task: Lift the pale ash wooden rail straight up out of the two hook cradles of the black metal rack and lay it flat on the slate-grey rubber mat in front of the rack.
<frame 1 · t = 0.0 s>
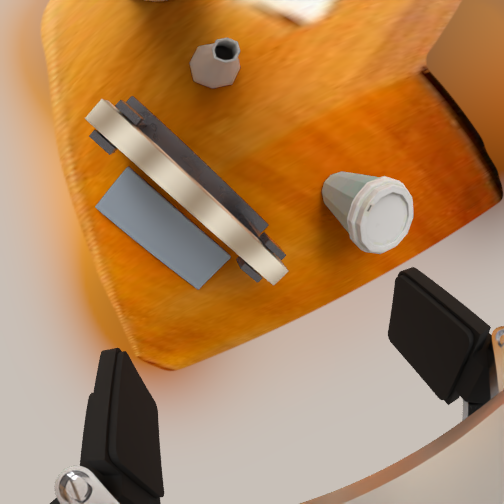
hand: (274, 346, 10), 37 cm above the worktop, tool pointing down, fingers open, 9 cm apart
disposable coffee cup: (336, 191, 50), on the worktop
flask: (214, 65, 37), on the worktop
hook rack: (188, 175, 43), on the worktop
rail: (192, 192, 33), point 11 cm above the worktop, touching hook rack
mat: (164, 230, 45), on the worktop
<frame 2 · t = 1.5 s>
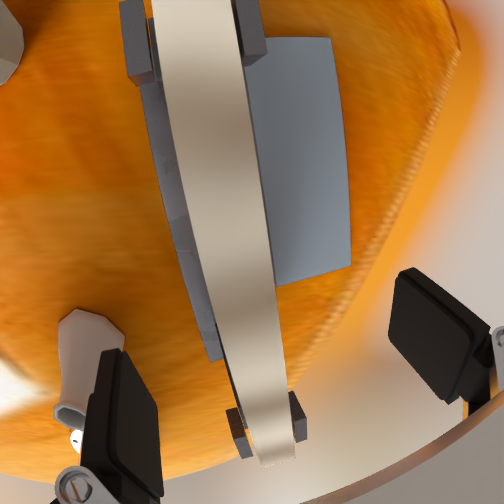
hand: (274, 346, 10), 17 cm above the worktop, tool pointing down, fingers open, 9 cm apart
disposable coffee cup: (0, 55, 14), on the worktop
flask: (90, 338, 26), on the worktop
hook rack: (206, 216, 25), on the worktop
rail: (232, 280, 15), point 11 cm above the worktop, touching hook rack
mat: (301, 160, 25), on the worktop
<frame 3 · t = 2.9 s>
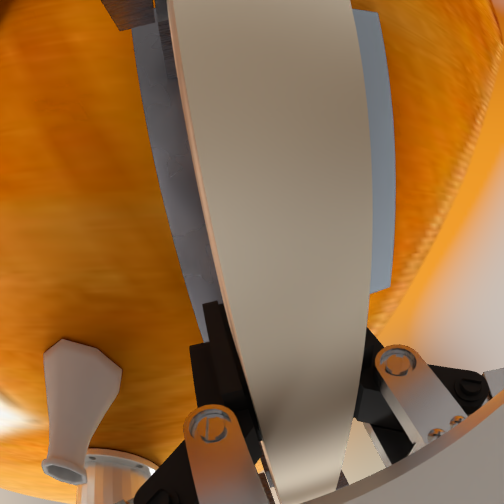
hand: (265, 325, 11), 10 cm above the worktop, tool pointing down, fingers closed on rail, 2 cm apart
flask: (82, 370, 21), on the worktop
hook rack: (222, 230, 19), on the worktop
rail: (276, 350, 9), point 11 cm above the worktop, touching gripper, hook rack
mat: (342, 161, 19), on the worktop
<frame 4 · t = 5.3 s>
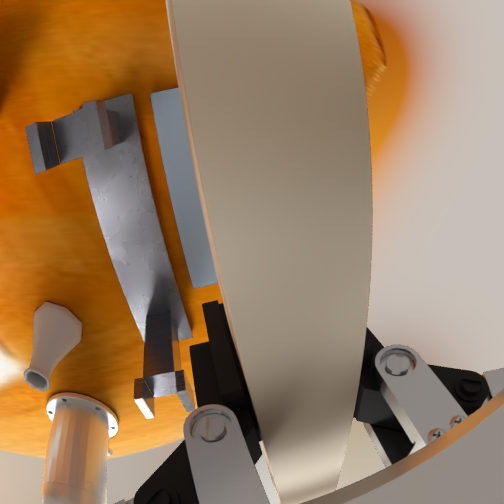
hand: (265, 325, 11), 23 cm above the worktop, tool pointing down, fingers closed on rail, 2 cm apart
flask: (58, 324, 32), on the worktop
hook rack: (134, 233, 31), on the worktop
rail: (276, 350, 9), point 24 cm above the worktop, touching gripper
mat: (207, 187, 31), on the worktop
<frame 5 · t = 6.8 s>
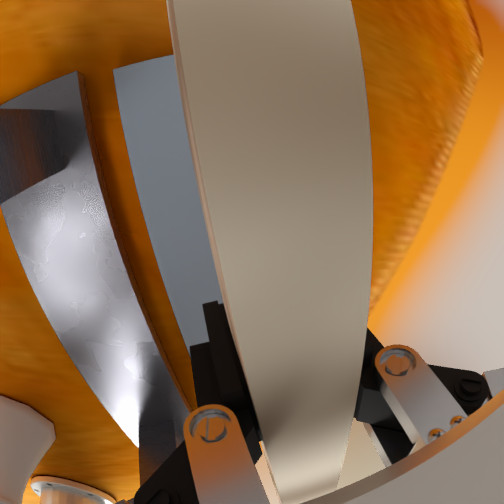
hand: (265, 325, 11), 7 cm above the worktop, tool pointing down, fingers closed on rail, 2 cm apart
flask: (23, 418, 19), on the worktop
hook rack: (104, 323, 17), on the worktop
rail: (276, 349, 9), point 9 cm above the worktop, touching gripper
mat: (226, 247, 17), on the worktop
when the fingers open (2 cm above the worktop, at t = 7.8 s): rail drops 2 cm, resting on mat.
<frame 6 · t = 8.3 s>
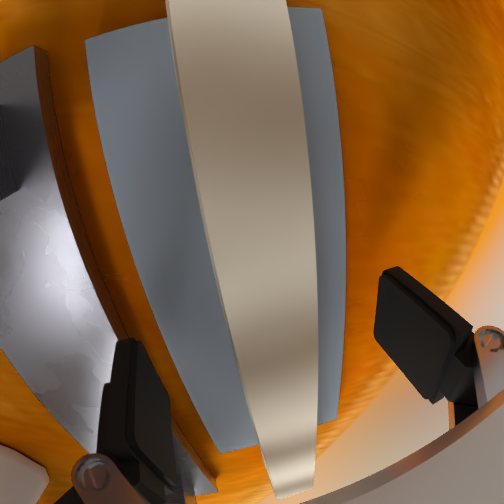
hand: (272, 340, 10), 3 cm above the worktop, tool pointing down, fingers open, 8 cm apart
flask: (13, 459, 15), on the worktop
hook rack: (92, 381, 13), on the worktop
rail: (256, 312, 12), point 1 cm above the worktop, touching mat
mat: (250, 293, 13), on the worktop
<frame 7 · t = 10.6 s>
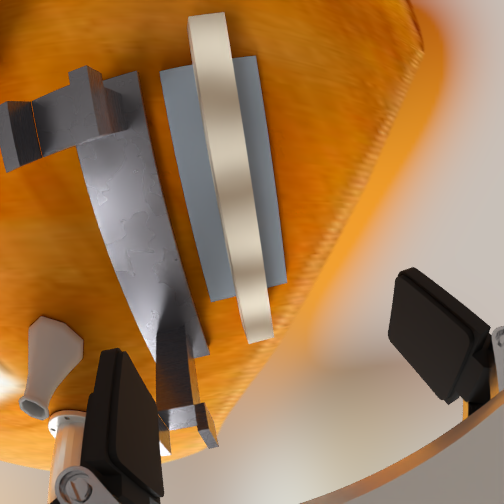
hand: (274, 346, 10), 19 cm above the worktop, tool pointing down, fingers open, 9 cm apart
flask: (56, 340, 28), on the worktop
hook rack: (140, 239, 26), on the worktop
rail: (230, 189, 25), point 1 cm above the worktop, touching mat
mat: (228, 183, 26), on the worktop
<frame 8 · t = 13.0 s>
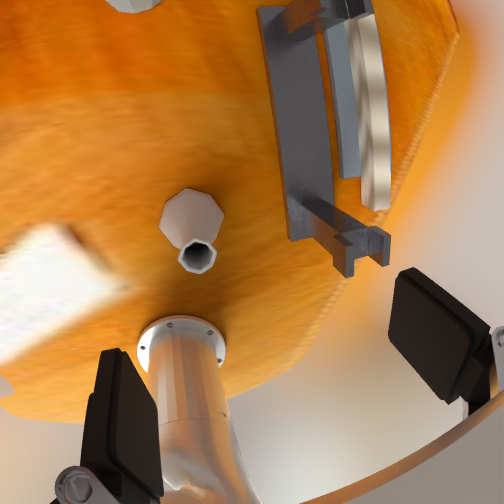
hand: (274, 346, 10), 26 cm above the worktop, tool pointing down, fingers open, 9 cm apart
flask: (191, 219, 35), on the worktop
hook rack: (299, 121, 32), on the worktop
rail: (363, 94, 32), point 1 cm above the worktop, touching mat
mat: (358, 93, 32), on the worktop
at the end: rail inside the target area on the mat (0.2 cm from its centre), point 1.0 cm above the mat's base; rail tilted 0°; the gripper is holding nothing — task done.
